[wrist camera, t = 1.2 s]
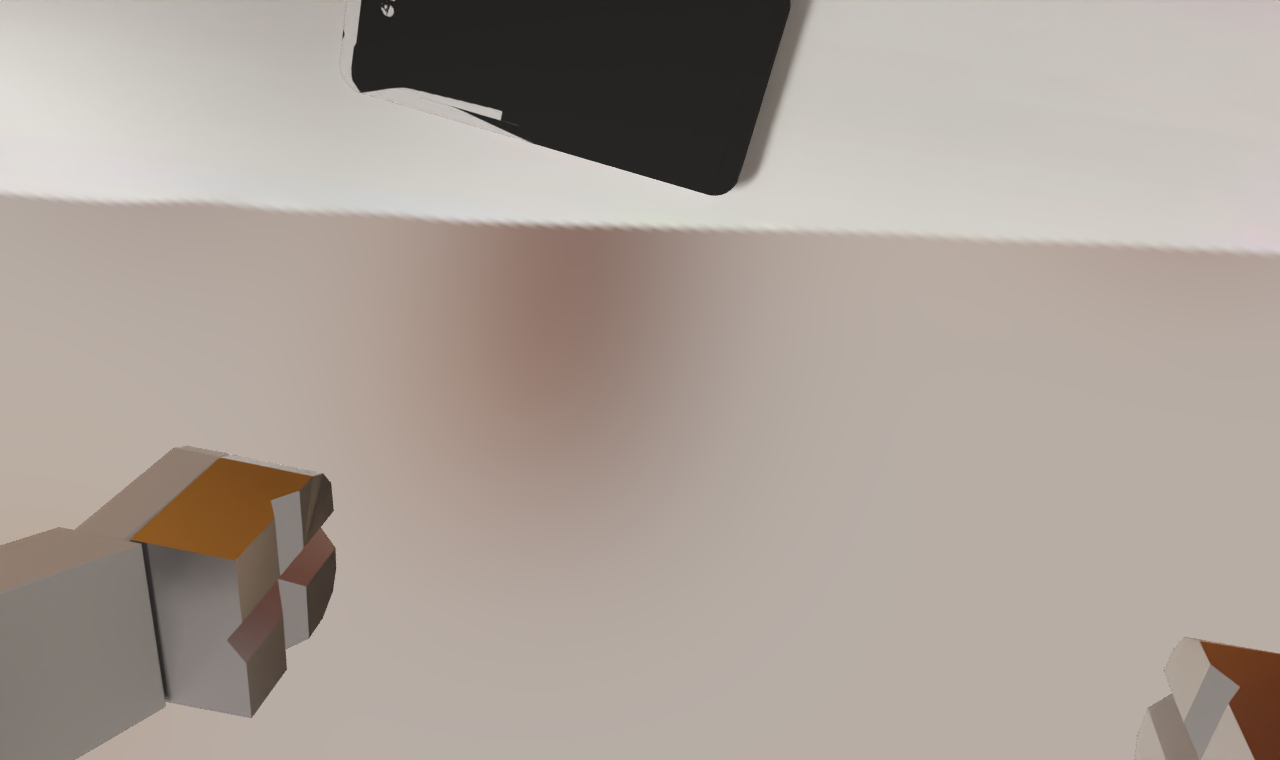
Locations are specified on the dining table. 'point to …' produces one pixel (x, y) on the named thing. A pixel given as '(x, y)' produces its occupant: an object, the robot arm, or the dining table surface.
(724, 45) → the smartphone
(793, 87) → the dining table surface
